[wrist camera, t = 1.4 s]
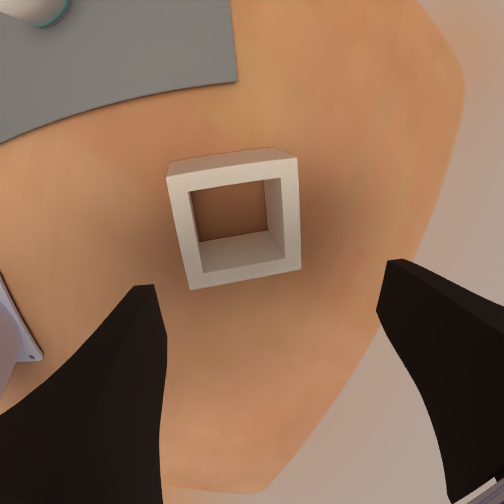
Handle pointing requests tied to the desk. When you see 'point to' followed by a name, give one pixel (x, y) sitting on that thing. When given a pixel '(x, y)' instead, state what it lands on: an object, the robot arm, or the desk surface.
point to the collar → (247, 245)
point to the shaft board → (105, 54)
